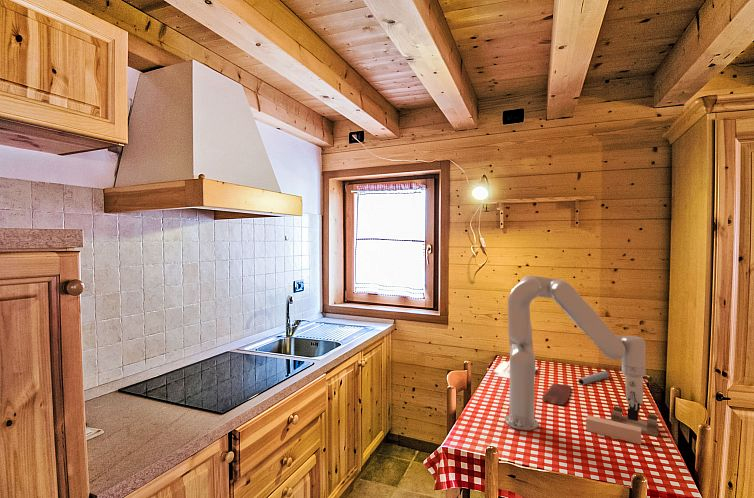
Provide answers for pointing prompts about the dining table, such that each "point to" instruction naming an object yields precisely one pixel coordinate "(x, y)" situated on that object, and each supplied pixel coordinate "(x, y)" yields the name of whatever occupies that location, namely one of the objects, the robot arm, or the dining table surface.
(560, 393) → the wooden tablet
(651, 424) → the rack
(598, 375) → the grey tube
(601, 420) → the clay strip
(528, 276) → the robot arm
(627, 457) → the dining table surface
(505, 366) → the tray
